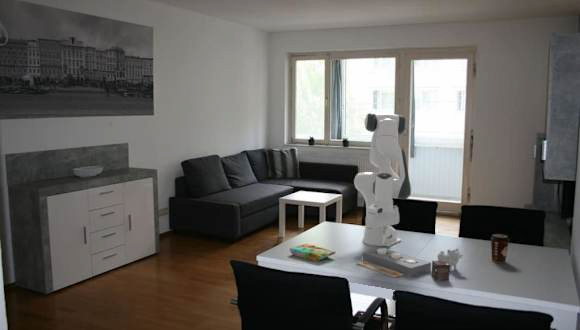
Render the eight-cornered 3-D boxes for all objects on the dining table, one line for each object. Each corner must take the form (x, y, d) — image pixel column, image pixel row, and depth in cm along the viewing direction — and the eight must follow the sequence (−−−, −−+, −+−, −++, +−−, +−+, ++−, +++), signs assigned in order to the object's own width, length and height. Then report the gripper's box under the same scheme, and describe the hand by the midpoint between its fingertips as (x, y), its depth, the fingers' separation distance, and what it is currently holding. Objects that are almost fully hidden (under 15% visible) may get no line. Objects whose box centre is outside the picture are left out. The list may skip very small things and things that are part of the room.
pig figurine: (456, 273, 233) (457, 251, 232) (435, 266, 244) (436, 244, 242) (464, 272, 236) (465, 249, 234) (443, 264, 246) (444, 243, 245)
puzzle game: (304, 242, 267) (335, 249, 254) (304, 250, 267) (335, 258, 254) (289, 246, 258) (320, 254, 245) (289, 255, 259) (320, 264, 246)
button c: (409, 265, 240) (410, 259, 239) (417, 267, 236) (417, 261, 236) (403, 267, 237) (403, 260, 237) (411, 269, 234) (411, 263, 233)
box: (431, 276, 229) (431, 260, 228) (444, 276, 230) (444, 260, 229) (436, 281, 223) (436, 264, 222) (449, 280, 224) (450, 264, 223)
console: (382, 255, 260) (382, 247, 260) (430, 270, 236) (431, 262, 236) (362, 260, 252) (362, 252, 251) (410, 276, 228) (411, 268, 228)
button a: (381, 253, 254) (381, 247, 254) (388, 256, 250) (388, 250, 250) (375, 255, 251) (375, 249, 251) (381, 257, 248) (382, 251, 247)
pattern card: (365, 261, 249) (365, 260, 249) (403, 275, 230) (404, 273, 230) (356, 264, 245) (356, 262, 245) (394, 278, 226) (395, 276, 226)
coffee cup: (507, 259, 255) (509, 234, 253) (508, 264, 247) (510, 238, 246) (488, 258, 258) (490, 232, 256) (489, 262, 250) (491, 236, 248)
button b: (395, 258, 247) (395, 252, 246) (402, 260, 243) (402, 254, 243) (389, 259, 244) (389, 253, 244) (396, 262, 241) (396, 256, 240)
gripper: (393, 203, 257) (392, 230, 258) (364, 208, 244) (363, 236, 246) (402, 205, 252) (401, 233, 253) (373, 210, 240) (372, 239, 241)
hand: (382, 235), depth 250 cm, fingers closed
